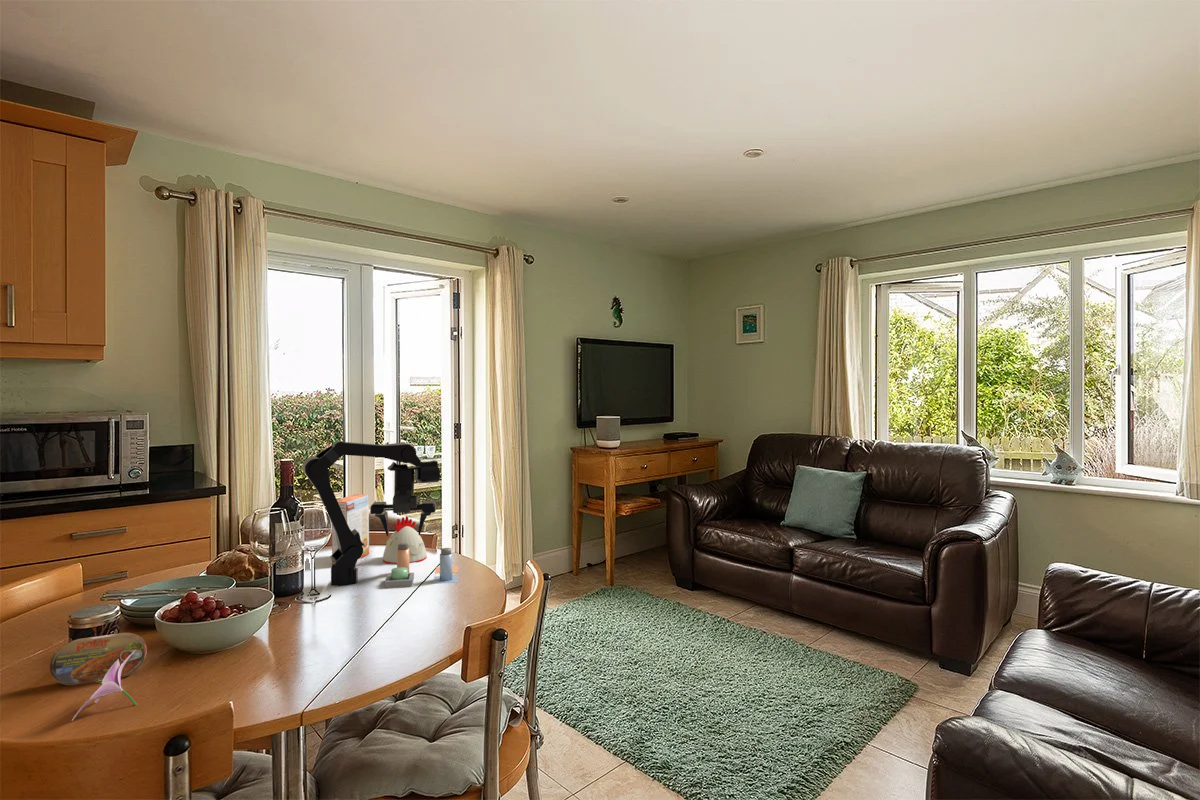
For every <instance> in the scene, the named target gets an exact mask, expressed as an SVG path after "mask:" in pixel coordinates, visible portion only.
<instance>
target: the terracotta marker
mask: <svg viewBox="0 0 1200 800" xmlns="http://www.w3.org/2000/svg"><path fill="white" fill-rule="evenodd" d="M398 567H406V568H408V573H410V563H409V548H408V543H401V544H398V549H397V564H396V568H398Z"/></svg>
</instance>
